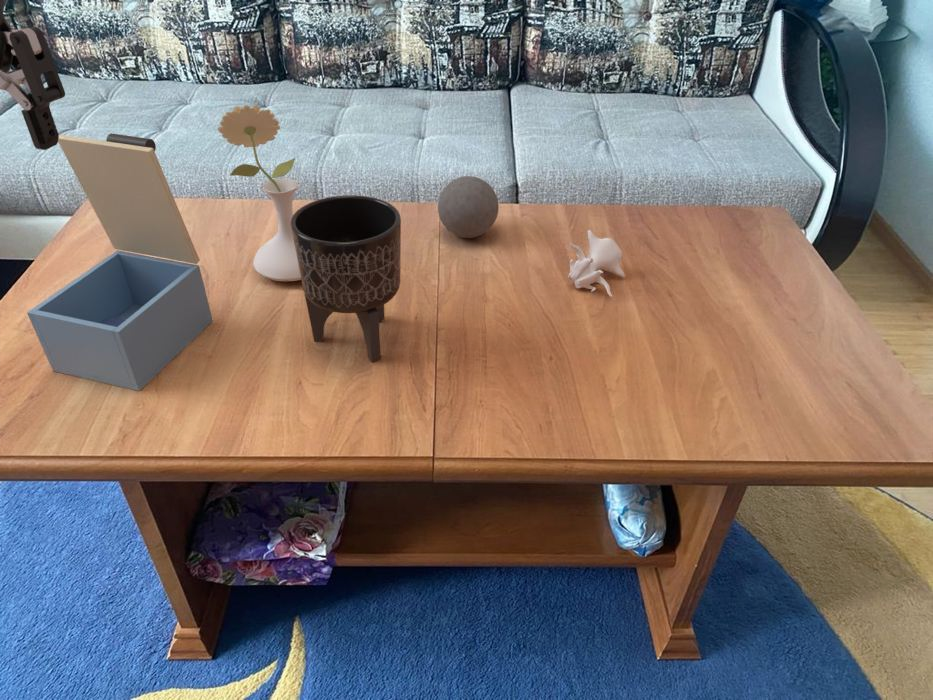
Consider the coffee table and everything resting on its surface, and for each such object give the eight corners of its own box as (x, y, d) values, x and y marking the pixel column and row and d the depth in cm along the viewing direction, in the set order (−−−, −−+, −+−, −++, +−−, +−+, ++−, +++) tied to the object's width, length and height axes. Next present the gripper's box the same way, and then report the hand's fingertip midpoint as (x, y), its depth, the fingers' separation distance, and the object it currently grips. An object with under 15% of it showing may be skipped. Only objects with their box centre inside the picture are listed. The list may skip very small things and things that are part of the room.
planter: (301, 369, 86) (281, 244, 75) (315, 311, 96) (299, 194, 86) (404, 368, 87) (398, 243, 76) (407, 311, 97) (402, 194, 86)
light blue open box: (139, 391, 82) (118, 332, 77) (52, 370, 85) (26, 312, 80) (213, 320, 94) (199, 265, 89) (135, 305, 97) (116, 250, 92)
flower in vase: (336, 252, 110) (319, 93, 95) (322, 290, 101) (301, 121, 86) (256, 249, 110) (226, 90, 95) (234, 287, 101) (197, 118, 86)
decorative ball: (454, 253, 110) (455, 196, 104) (428, 228, 117) (427, 172, 111) (507, 241, 114) (511, 184, 108) (479, 216, 121) (481, 162, 115)
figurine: (638, 268, 106) (630, 284, 97) (600, 295, 110) (588, 313, 101) (599, 217, 105) (587, 229, 97) (561, 246, 109) (546, 260, 100)
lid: (149, 151, 76) (174, 128, 79) (55, 137, 79) (83, 116, 82) (196, 264, 88) (216, 240, 92) (114, 249, 91) (136, 226, 94)
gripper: (-179, -55, 54) (-84, 145, 64) (-34, -43, 51) (42, 165, 61) (-93, -65, 60) (-17, 120, 70) (42, -55, 57) (101, 137, 67)
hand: (11, 141), depth 65 cm, fingers open, 8 cm apart
